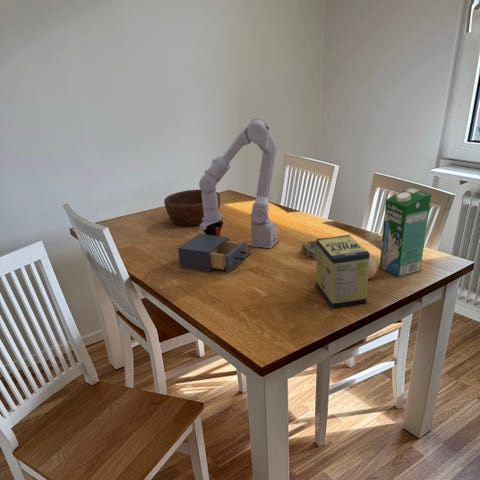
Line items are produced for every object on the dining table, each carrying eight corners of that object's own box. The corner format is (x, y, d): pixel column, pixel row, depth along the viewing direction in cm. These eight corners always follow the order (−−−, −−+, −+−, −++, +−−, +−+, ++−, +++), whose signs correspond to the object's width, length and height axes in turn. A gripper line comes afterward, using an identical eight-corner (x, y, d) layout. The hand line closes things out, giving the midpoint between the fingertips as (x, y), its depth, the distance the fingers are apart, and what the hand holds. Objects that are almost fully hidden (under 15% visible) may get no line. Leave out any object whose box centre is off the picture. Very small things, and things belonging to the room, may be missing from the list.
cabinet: (230, 256, 167) (228, 237, 164) (210, 272, 157) (208, 252, 153) (201, 252, 173) (199, 233, 169) (180, 267, 162) (177, 247, 158)
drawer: (256, 258, 162) (255, 243, 159) (239, 273, 152) (238, 257, 149) (219, 253, 168) (217, 238, 165) (200, 267, 158) (198, 252, 156)
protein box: (346, 280, 144) (349, 233, 136) (366, 303, 130) (370, 253, 122) (315, 285, 143) (315, 238, 135) (332, 308, 129) (333, 258, 121)
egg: (369, 273, 147) (371, 250, 143) (379, 279, 143) (382, 256, 138) (355, 276, 146) (356, 253, 142) (364, 283, 141) (366, 260, 137)
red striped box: (221, 244, 178) (219, 226, 174) (217, 247, 176) (215, 228, 172) (211, 243, 180) (209, 225, 176) (207, 246, 178) (205, 227, 174)
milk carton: (379, 267, 150) (386, 191, 137) (401, 261, 153) (410, 186, 140) (397, 277, 143) (407, 198, 130) (420, 270, 146) (431, 193, 133)
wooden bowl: (175, 211, 220) (172, 190, 214) (226, 210, 216) (224, 188, 211) (160, 229, 199) (156, 206, 193) (216, 228, 195) (214, 204, 190)
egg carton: (298, 251, 167) (298, 241, 165) (315, 246, 169) (315, 236, 167) (315, 260, 158) (315, 249, 156) (333, 255, 161) (333, 244, 159)
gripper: (211, 201, 177) (214, 234, 184) (191, 212, 167) (195, 247, 173) (227, 202, 174) (229, 235, 181) (207, 214, 164) (211, 249, 170)
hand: (214, 241), depth 177 cm, fingers closed on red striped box, 3 cm apart
